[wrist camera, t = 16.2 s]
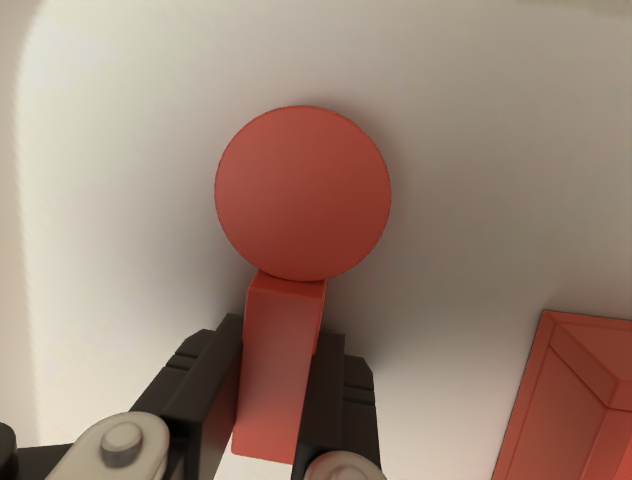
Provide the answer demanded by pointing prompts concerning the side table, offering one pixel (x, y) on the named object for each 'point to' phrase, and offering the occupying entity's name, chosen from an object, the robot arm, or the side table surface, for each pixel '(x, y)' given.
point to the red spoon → (293, 252)
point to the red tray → (573, 403)
